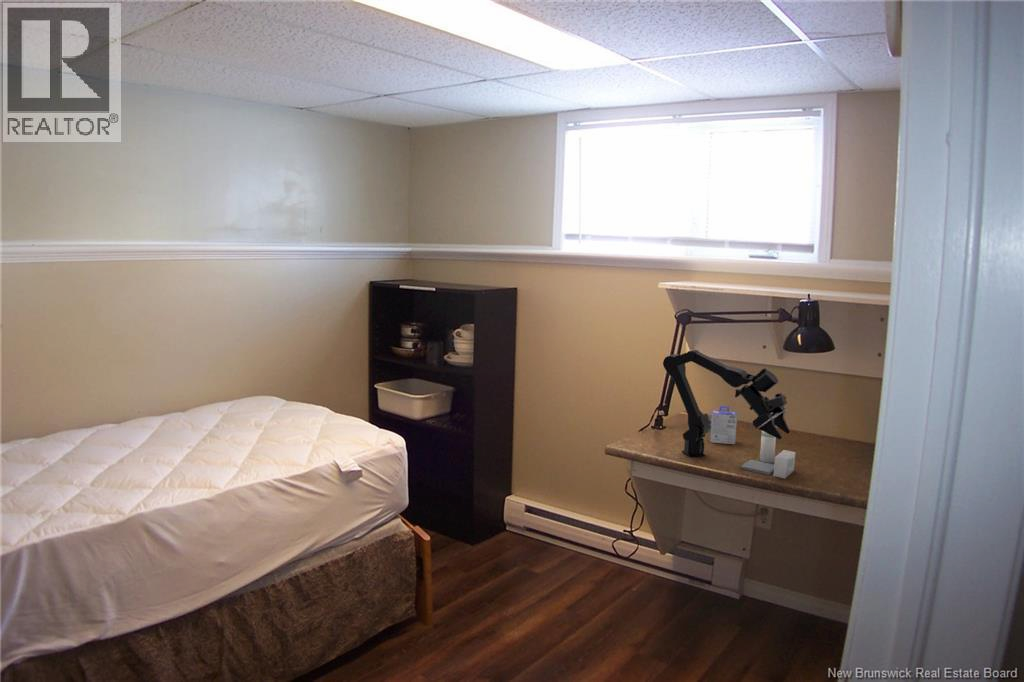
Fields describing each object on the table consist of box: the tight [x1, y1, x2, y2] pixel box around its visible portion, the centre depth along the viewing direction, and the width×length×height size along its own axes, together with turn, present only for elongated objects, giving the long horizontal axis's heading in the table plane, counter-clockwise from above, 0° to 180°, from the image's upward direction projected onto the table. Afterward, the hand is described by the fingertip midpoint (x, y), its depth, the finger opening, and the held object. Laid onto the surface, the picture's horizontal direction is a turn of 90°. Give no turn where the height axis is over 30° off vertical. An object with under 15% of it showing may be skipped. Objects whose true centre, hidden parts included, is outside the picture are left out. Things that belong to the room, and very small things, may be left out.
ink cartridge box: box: [709, 405, 738, 445], centre depth 285 cm, size 10×6×14 cm, turn 78°
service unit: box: [773, 449, 796, 479], centre depth 249 cm, size 4×10×7 cm, turn 143°
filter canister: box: [759, 426, 778, 464], centre depth 262 cm, size 5×5×13 cm
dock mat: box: [740, 459, 774, 476], centre depth 254 cm, size 10×10×1 cm
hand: (785, 435), depth 247 cm, fingers open, 9 cm apart
